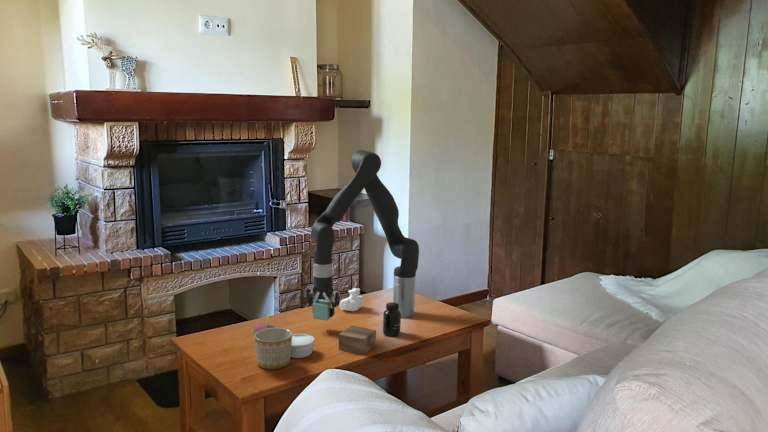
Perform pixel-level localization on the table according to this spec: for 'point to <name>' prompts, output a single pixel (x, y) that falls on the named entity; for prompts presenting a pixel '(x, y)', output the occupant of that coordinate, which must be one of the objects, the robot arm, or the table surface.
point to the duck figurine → (352, 301)
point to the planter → (273, 347)
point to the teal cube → (321, 310)
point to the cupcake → (262, 326)
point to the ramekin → (301, 345)
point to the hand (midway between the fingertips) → (323, 315)
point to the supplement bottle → (391, 319)
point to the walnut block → (357, 340)
